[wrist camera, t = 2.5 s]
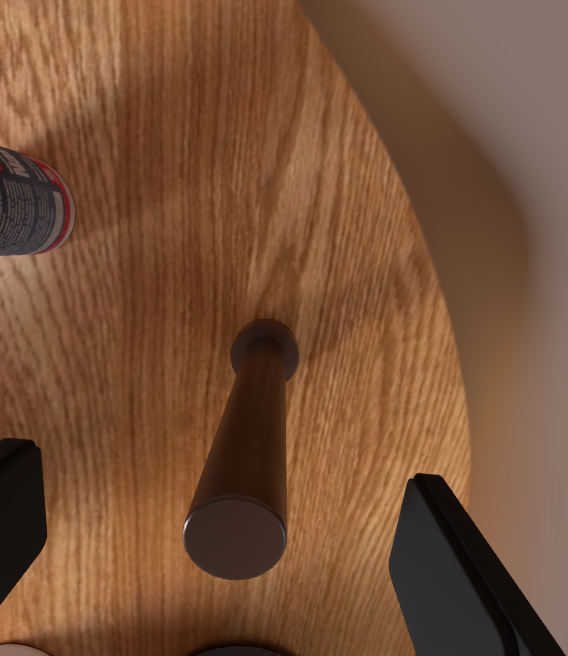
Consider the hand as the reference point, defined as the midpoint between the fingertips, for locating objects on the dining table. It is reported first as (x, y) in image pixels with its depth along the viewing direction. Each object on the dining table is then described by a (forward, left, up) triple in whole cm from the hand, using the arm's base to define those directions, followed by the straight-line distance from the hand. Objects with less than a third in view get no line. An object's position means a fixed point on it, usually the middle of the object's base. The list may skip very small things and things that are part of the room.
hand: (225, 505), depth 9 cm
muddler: (0, 0, -13) cm, 13 cm away
